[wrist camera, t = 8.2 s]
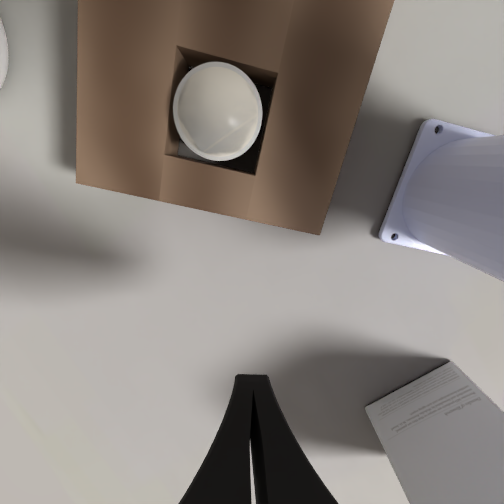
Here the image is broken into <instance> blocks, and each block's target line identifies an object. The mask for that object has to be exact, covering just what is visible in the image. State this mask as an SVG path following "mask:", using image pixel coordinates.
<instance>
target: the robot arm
mask: <svg viewBox="0 0 504 504" xmlns="http://www.w3.org/2000/svg"><path fill="white" fill-rule="evenodd" d="M436 126H438V128H439V131H438V133H437V134H436V133H435V128H436ZM394 233H395V237H394V238H393V239H391V236H392V234H394ZM378 236H379V238H380V240H382V241H384V242H387V243H392V244H397V245H401V246H406V247H410V248H415V249H420V250H424V251H429V252H433V253H438V254H442V255H447V256H451V257H453V258H455V259H457V260H459V261H461V262H464V263H466V264H468V265H470V266H472V267H474V268H476V269H478V270H480V271H482V272H485V273H487V274H489V275H491V276H493V277H495V278H497V279H499V280H501V281H503V282H504V135H500V136H496V135H492V134H488V133H485V132H481V131H477V130H474V129H470V128H466V127H463V126H459V125H455V124H451V123H448V122H444V121H440V120H437V119H428V120H426V121H424V122H423V123H422V125H421V126H420V129H419V131H418V134H417V136H416V139H415V142H414V144H413V147H412V149H411V152H410V154H409V157H408V160H407V162H406V165H405V167H404V170H403V172H402V175H401V177H400V180H399V183H398V185H397V188H396V190H395V193H394V195H393V198H392V201H391V203H390V206H389V208H388V211H387V213H386V216H385V218H384V221H383V224H382V226H381V229H380V231H379V235H378ZM250 442H251V453H252V464H253V475H254V486H255V497H256V504H338V502H337V501H336V500H335V498H334V497H333V496H332V494H331V493H330V492H329V490H328V489H327V488H326V486H325V485H324V483H323V482H322V480H321V479H320V477H319V476H318V474H317V473H316V472H315V470H314V469H313V467H312V465H311V464H310V462H309V461H308V459H307V457H306V456H305V454H304V453H303V451H302V449H301V447H300V446H299V444H298V442H297V440H296V439H295V437H294V435H293V433H292V431H291V429H290V427H289V425H288V423H287V421H286V419H285V417H284V415H283V413H282V411H281V409H280V407H279V404H278V402H277V400H276V397H275V395H274V392H273V389H272V387H271V384H270V380H269V377H268V376H267V375H250V374H238V375H236V376H235V383H234V388H233V392H232V395H231V398H230V402H229V405H228V407H227V410H226V413H225V415H224V418H223V421H222V423H221V425H220V428H219V430H218V432H217V434H216V437H215V439H214V441H213V443H212V445H211V447H210V449H209V451H208V453H207V455H206V457H205V459H204V461H203V463H202V465H201V467H200V469H199V470H198V472H197V474H196V476H195V477H194V479H193V481H192V483H191V485H190V486H189V488H188V490H187V491H186V493H185V495H184V496H183V498H182V499H181V501H180V502H179V504H251V479H250Z"/></svg>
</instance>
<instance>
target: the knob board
mask: <svg viewBox="0 0 504 504" xmlns="http://www.w3.org/2000/svg"><path fill="white" fill-rule="evenodd" d="M393 3H394V0H78V36H77V132H76V183H78V184H83V185H87V186H92V187H97V188H101V189H106V190H111V191H115V192H120V193H125V194H129V195H134V196H139V197H143V198H148V199H153V200H157V201H162V202H167V203H171V204H176V205H180V206H185V207H190V208H194V209H199V210H204V211H208V212H213V213H218V214H222V215H227V216H232V217H236V218H241V219H246V220H250V221H255V222H260V223H264V224H269V225H274V226H278V227H283V228H287V229H292V230H297V231H301V232H306V233H311V234H315V235H320V233H321V230H322V227H323V223H324V220H325V217H326V214H327V211H328V208H329V205H330V201H331V198H332V195H333V192H334V189H335V186H336V182H337V179H338V176H339V173H340V170H341V167H342V164H343V160H344V157H345V154H346V151H347V148H348V145H349V141H350V138H351V135H352V132H353V129H354V126H355V123H356V119H357V116H358V113H359V110H360V107H361V104H362V101H363V97H364V94H365V91H366V88H367V85H368V82H369V78H370V75H371V72H372V69H373V66H374V63H375V60H376V56H377V53H378V50H379V47H380V44H381V41H382V38H383V34H384V31H385V28H386V25H387V22H388V19H389V15H390V12H391V9H392V6H393ZM207 62H224V63H228V64H231V65H233V66H235V67H237V68H239V69H240V70H241V71H243V72H244V73H245V74H246V75H247V76H248V77H249V78H250V79H251V81H252V82H253V83H255V84H259V85H263V86H267V87H270V88H272V92H271V96H270V101H269V106H268V110H267V115H266V119H265V124H264V129H263V133H262V138H261V142H260V147H259V152H258V156H257V161H256V165H255V170H254V173H251V172H247V171H243V170H238V169H234V168H230V167H225V166H221V165H217V164H213V163H208V162H204V161H200V160H195V159H191V158H187V157H182V156H178V147H179V139H180V135H179V133H178V131H177V128H176V125H175V121H174V116H173V102H174V97H175V93H176V90H177V88H178V86H179V84H180V82H181V81H182V79H183V78H184V77H185V75H186V74H187V73H188V68H189V66H191V67H197V66H199V65H201V64H204V63H207Z"/></svg>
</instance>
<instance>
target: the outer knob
mask: <svg viewBox="0 0 504 504" xmlns="http://www.w3.org/2000/svg"><path fill="white" fill-rule="evenodd" d="M173 116H174V121H175V125H176V128H177V131H178V133H179V135H180V137H181V138H182V140H183V141H184V143H185V144H186V145H187V146H188V147H189V148H190V149H191V150H192V151H193V152H195V153H196V154H198V155H199V156H201V157H203V158H206V159H209V160H214V161H225V160H231V159H234V158H236V157H238V156H240V155H242V154H243V153H245V152H246V151H247V150H248V149H249V148H250V147H251V146H252V144H253V143H254V141H255V139H256V138H257V136H258V133H259V131H260V127H261V123H262V104H261V99H260V96H259V93H258V91H257V89H256V87H255V85H254V84H253V82H252V81H251V79H250V78H249V77H248V76H247V75H246V74H245V73H244V72H243V71H241V70H240V69H239V68H237V67H235V66H233V65H231V64H228V63H224V62H207V63H204V64H201V65H199V66H197V67H195V68H193V69H192V70H191V71H190V72H188V73H187V74H186V75H185V77H184V78H183V79H182V81H181V82H180V84H179V86H178V88H177V90H176V93H175V97H174V102H173Z"/></svg>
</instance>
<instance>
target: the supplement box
mask: <svg viewBox="0 0 504 504" xmlns="http://www.w3.org/2000/svg"><path fill="white" fill-rule="evenodd" d="M365 411H366V413H367V415H368V417H369V419H370V421H371V423H372V425H373V427H374V429H375V432H376V434H377V436H378V438H379V440H380V442H381V444H382V446H383V448H384V450H385V452H386V455H387V457H388V459H389V461H390V463H391V465H392V467H393V469H394V471H395V473H396V476H397V478H398V480H399V482H400V484H401V486H402V488H403V490H404V492H405V495H406V497H407V499H408V501H409V503H410V504H504V412H503V411H502V410H501V409H500V408H499V407H498V406H497V405H496V404H495V403H494V402H493V401H492V400H491V399H490V398H489V397H488V396H487V395H486V394H485V393H484V392H483V391H482V390H481V389H480V388H479V387H478V386H477V385H476V384H475V383H474V382H473V381H472V380H471V379H470V378H469V377H468V376H467V375H466V374H465V373H464V372H463V371H462V370H461V369H460V368H459V367H458V366H457V365H456V364H455V363H454V362H453V361H450V362H448V363H447V364H445V365H443V366H441V367H439V368H437V369H435V370H434V371H432V372H430V373H428V374H426V375H424V376H422V377H421V378H419V379H417V380H415V381H413V382H411V383H409V384H408V385H406V386H404V387H402V388H400V389H398V390H396V391H394V392H393V393H391V394H389V395H387V396H385V397H384V398H382V399H380V400H378V401H376V402H374V403H372V404H370V405H368V406H366V407H365Z"/></svg>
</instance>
